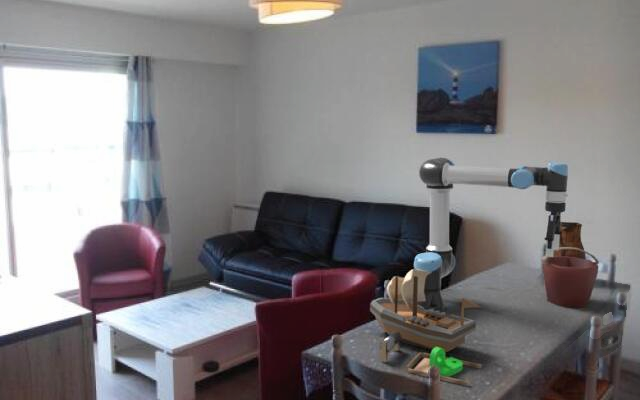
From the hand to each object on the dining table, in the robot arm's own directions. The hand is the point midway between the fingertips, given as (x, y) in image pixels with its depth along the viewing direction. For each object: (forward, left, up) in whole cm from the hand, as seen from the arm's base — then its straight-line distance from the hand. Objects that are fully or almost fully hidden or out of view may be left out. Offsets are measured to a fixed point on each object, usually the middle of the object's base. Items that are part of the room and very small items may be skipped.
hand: (552, 253), depth 234 cm
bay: (-23, -69, -28) cm, 78 cm away
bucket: (+4, +29, -28) cm, 41 cm away
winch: (-43, -67, -28) cm, 84 cm away
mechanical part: (-22, -69, -28) cm, 77 cm away
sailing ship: (-37, -50, -28) cm, 68 cm away
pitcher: (-1, +64, -28) cm, 70 cm away
